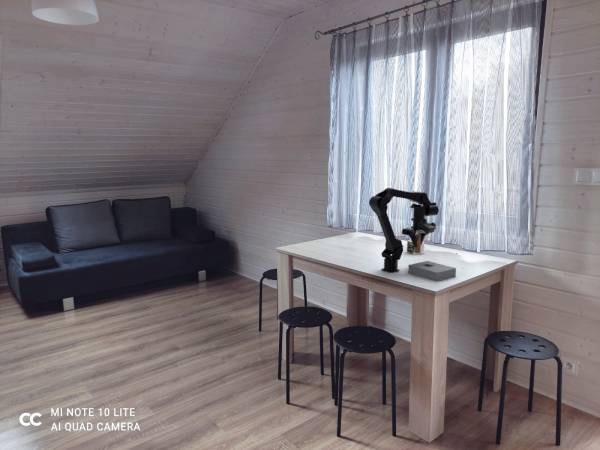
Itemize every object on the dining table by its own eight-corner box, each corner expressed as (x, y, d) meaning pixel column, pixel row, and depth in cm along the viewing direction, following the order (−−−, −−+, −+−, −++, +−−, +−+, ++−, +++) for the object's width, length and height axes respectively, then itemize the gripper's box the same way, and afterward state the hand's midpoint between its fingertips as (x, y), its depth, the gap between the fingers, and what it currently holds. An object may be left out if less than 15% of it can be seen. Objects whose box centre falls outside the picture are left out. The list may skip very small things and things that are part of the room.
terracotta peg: (417, 253, 227) (418, 234, 225) (413, 252, 229) (413, 233, 227) (421, 252, 228) (422, 233, 227) (416, 251, 231) (417, 232, 229)
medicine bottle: (406, 252, 263) (407, 232, 261) (416, 251, 265) (417, 231, 263) (413, 254, 256) (414, 234, 254) (424, 253, 259) (425, 233, 256)
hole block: (436, 281, 205) (437, 272, 205) (408, 272, 219) (408, 264, 218) (455, 276, 213) (456, 268, 213) (426, 268, 227) (427, 260, 226)
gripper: (419, 220, 214) (418, 252, 216) (443, 217, 224) (442, 247, 227) (401, 217, 223) (400, 248, 225) (426, 214, 233) (424, 243, 236)
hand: (417, 246), depth 228 cm, fingers closed on terracotta peg, 3 cm apart
